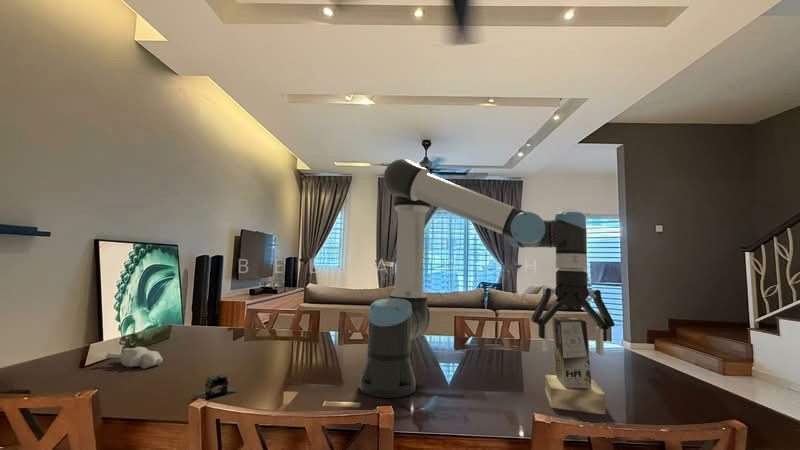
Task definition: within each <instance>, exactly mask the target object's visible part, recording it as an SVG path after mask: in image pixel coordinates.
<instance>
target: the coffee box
mask: <svg viewBox="0 0 800 450" xmlns="http://www.w3.org/2000/svg"><path fill="white" fill-rule="evenodd" d="M551 324H552V336H553V346H554V359H555V361H554V362H555V369H556V376H557V378H558V379H559V380H560V382H561V383H562V384H563V385H564V386H565V387H566V388H589V389H590V388H592V387H591V379H592V376H591V363H590V353H589V352H590V351H589V338H588V337H589V336H588V329H587V327H588V326H587V320H584V319H582V318H579V317H577V316H559V317H557V316H556V317H554V316H552V318H551Z"/></svg>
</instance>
